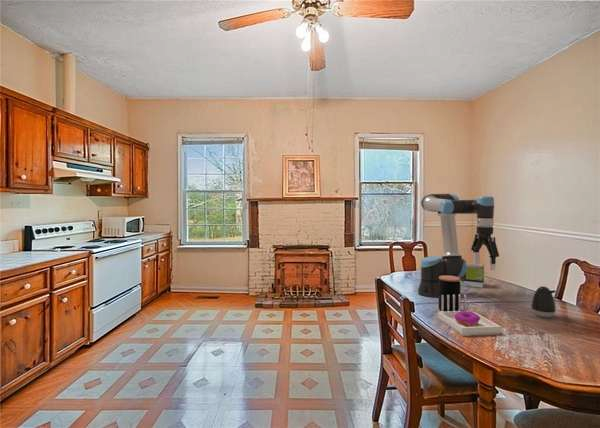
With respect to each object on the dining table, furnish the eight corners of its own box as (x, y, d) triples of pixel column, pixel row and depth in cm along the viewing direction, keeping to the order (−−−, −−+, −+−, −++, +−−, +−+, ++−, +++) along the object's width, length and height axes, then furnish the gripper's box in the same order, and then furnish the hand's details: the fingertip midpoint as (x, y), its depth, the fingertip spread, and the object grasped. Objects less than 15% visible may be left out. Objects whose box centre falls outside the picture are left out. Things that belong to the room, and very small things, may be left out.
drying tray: (437, 318, 171) (437, 311, 171) (471, 317, 173) (471, 310, 173) (462, 335, 149) (462, 328, 149) (501, 334, 151) (501, 326, 151)
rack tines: (437, 317, 173) (437, 294, 173) (467, 316, 175) (468, 293, 174) (439, 318, 171) (439, 295, 171) (470, 317, 173) (470, 294, 172)
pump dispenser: (549, 320, 167) (549, 290, 166) (526, 314, 176) (527, 285, 175) (560, 317, 172) (561, 287, 171) (538, 311, 181) (538, 283, 180)
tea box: (484, 285, 237) (484, 264, 236) (482, 288, 228) (483, 266, 228) (460, 282, 245) (460, 262, 244) (458, 285, 236) (458, 264, 236)
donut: (451, 322, 162) (451, 312, 162) (462, 317, 168) (462, 308, 168) (473, 328, 154) (473, 318, 154) (483, 323, 160) (483, 313, 160)
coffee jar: (459, 308, 186) (459, 276, 186) (461, 314, 176) (461, 280, 176) (437, 306, 190) (438, 274, 189) (439, 312, 180) (439, 279, 179)
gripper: (464, 224, 187) (464, 262, 189) (492, 228, 162) (491, 272, 164) (478, 224, 188) (477, 262, 189) (508, 228, 163) (506, 272, 164)
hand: (483, 267), depth 176 cm, fingers open, 13 cm apart
